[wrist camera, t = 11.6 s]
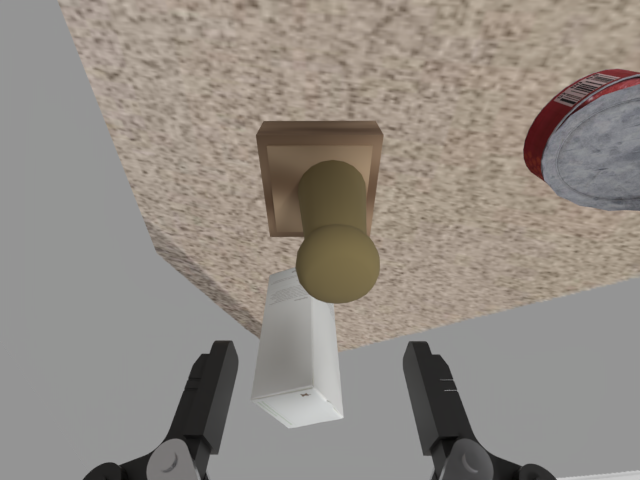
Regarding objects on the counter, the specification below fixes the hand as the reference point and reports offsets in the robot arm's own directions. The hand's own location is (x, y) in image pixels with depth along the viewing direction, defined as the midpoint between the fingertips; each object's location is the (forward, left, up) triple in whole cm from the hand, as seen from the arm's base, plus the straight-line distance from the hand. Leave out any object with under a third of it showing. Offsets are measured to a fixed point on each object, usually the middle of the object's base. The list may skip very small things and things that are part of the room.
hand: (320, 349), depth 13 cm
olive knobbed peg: (0, +1, -15) cm, 15 cm away
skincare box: (+17, -2, -19) cm, 26 cm away
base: (0, 0, -19) cm, 19 cm away
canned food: (-4, +24, -20) cm, 31 cm away
